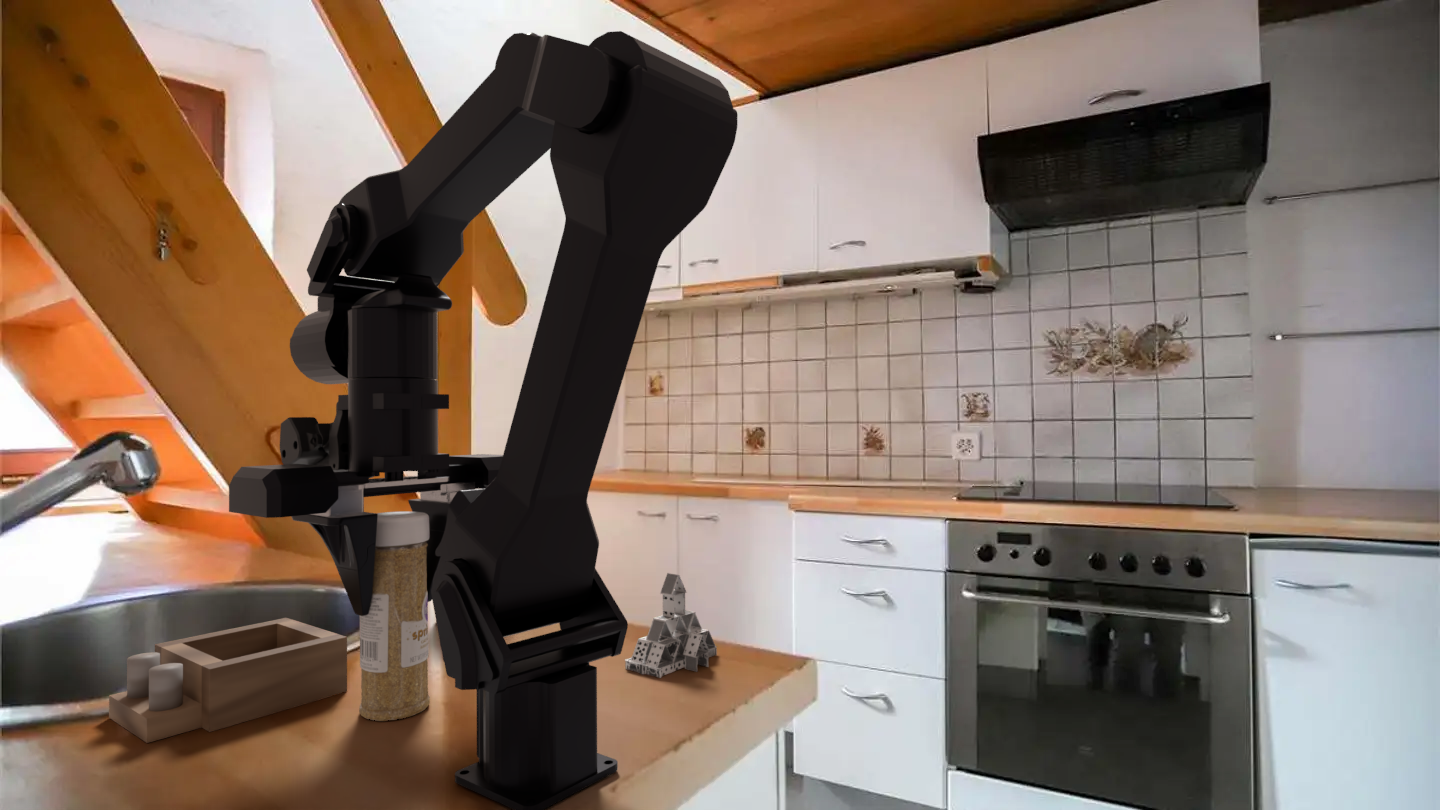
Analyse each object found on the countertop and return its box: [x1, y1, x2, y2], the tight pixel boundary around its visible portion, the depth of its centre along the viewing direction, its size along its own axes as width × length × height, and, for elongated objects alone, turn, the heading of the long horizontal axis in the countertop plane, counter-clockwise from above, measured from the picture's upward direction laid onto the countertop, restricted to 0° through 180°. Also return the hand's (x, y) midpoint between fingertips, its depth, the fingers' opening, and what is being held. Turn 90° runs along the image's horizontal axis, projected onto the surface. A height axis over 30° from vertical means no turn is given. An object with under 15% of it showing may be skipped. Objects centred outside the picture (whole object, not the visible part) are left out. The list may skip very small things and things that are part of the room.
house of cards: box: [624, 572, 718, 679], centre depth 61 cm, size 9×9×8 cm
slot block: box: [108, 617, 348, 744], centre depth 56 cm, size 10×12×4 cm
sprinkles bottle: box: [358, 510, 431, 722], centre depth 54 cm, size 5×5×14 cm
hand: (394, 607), depth 54 cm, fingers closed on sprinkles bottle, 4 cm apart
